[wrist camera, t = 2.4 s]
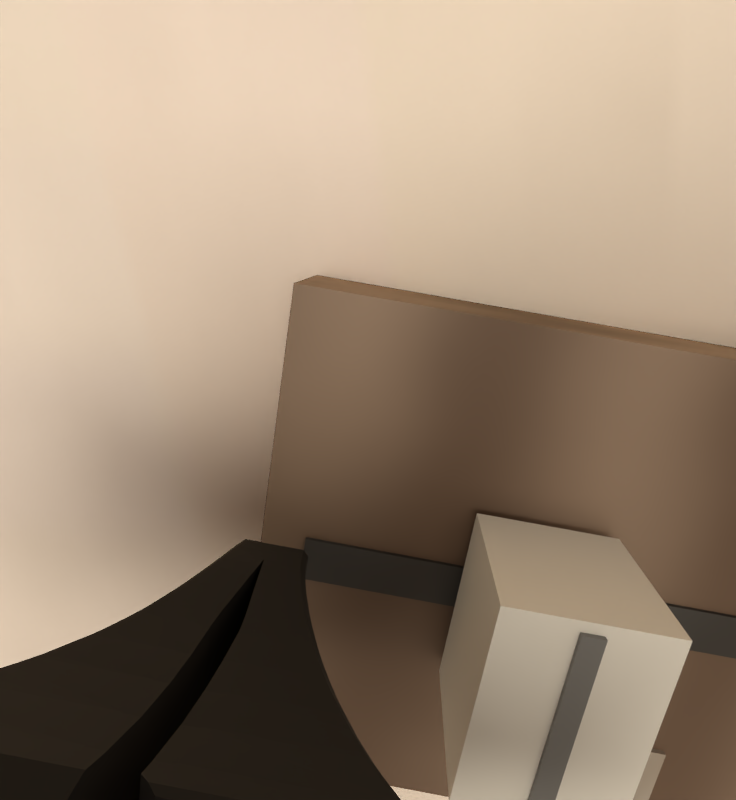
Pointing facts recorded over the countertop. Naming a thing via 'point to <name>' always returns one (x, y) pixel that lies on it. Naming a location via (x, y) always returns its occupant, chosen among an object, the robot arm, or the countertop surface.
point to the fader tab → (554, 666)
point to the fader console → (499, 497)
